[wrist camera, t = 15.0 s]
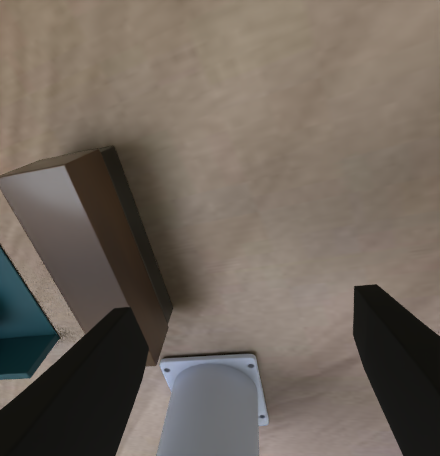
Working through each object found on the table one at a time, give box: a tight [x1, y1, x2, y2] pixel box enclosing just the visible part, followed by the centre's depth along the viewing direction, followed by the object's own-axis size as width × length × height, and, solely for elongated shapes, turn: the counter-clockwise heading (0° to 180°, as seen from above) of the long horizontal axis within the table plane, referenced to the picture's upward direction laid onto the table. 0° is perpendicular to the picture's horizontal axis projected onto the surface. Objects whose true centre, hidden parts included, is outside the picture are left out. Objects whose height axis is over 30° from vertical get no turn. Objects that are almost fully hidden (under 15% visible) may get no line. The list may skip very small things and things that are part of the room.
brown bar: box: [0, 146, 173, 366], centre depth 16 cm, size 12×3×5 cm, turn 11°
